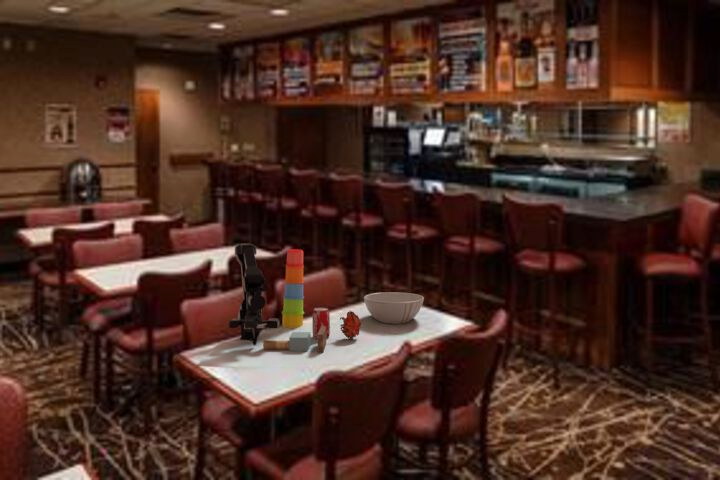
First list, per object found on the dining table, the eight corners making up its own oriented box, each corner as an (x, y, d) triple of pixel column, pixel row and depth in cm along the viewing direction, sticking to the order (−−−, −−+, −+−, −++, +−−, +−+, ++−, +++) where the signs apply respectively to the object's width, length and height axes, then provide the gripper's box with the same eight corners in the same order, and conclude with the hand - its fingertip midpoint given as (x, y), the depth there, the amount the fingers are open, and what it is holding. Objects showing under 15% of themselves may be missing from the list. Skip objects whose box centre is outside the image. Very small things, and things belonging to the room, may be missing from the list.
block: (289, 351, 257) (289, 337, 256) (292, 345, 266) (292, 332, 266) (307, 351, 257) (307, 337, 256) (310, 345, 266) (310, 332, 265)
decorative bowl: (426, 330, 291) (426, 302, 290) (363, 330, 292) (363, 302, 291) (421, 317, 318) (421, 292, 317) (364, 317, 318) (364, 292, 317)
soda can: (327, 340, 274) (327, 311, 273) (310, 339, 275) (310, 310, 274) (331, 336, 281) (331, 307, 280) (315, 335, 282) (314, 307, 281)
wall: (317, 352, 254) (317, 334, 254) (321, 343, 268) (321, 326, 267) (323, 352, 254) (322, 334, 253) (326, 343, 268) (326, 326, 267)
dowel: (264, 350, 261) (263, 349, 258) (265, 340, 262) (263, 340, 258) (290, 350, 261) (289, 349, 257) (290, 340, 261) (289, 340, 258)
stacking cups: (287, 325, 301) (286, 248, 298) (308, 327, 297) (307, 249, 294) (276, 330, 292) (275, 250, 288) (297, 332, 288) (297, 251, 285)
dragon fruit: (350, 335, 282) (350, 307, 281) (366, 338, 276) (366, 309, 275) (336, 339, 275) (336, 310, 274) (352, 342, 270) (352, 312, 269)
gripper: (225, 309, 253) (225, 350, 254) (274, 309, 252) (275, 350, 254) (231, 303, 264) (232, 343, 265) (279, 303, 263) (280, 343, 265)
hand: (254, 345), depth 262 cm, fingers closed
